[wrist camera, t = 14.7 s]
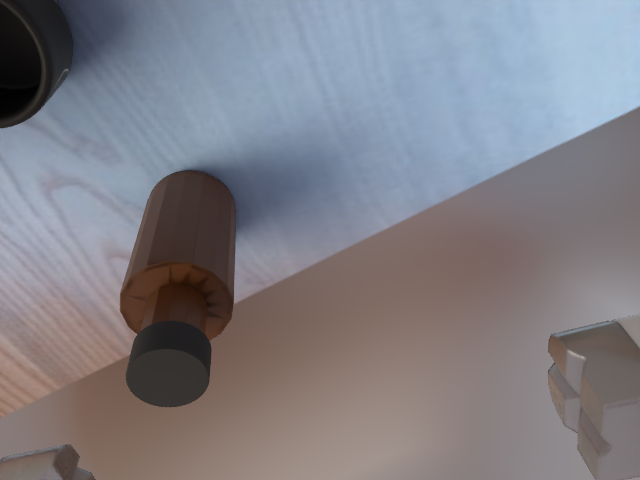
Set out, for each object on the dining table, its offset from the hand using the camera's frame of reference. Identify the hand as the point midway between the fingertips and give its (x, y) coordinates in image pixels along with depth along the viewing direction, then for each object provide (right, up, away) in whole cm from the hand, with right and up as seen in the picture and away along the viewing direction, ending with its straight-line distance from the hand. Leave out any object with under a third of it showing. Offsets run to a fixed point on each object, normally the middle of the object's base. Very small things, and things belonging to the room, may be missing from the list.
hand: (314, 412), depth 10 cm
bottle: (-11, +6, +39) cm, 41 cm away
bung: (-9, -3, +27) cm, 28 cm away
